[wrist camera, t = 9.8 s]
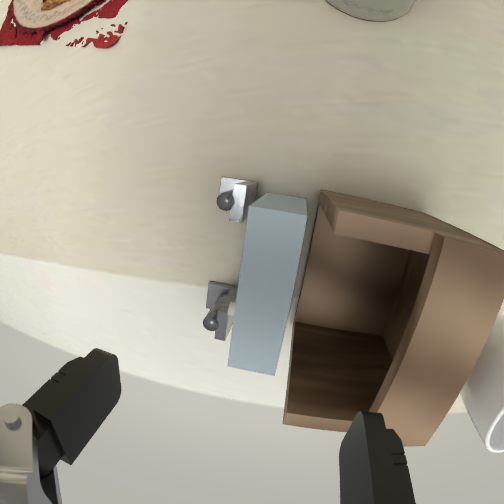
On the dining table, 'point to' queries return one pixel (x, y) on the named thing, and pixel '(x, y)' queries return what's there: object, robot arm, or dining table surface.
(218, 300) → the hinge clips
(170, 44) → the dining table surface
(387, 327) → the cabinet
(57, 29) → the plate with food
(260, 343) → the door
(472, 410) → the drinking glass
